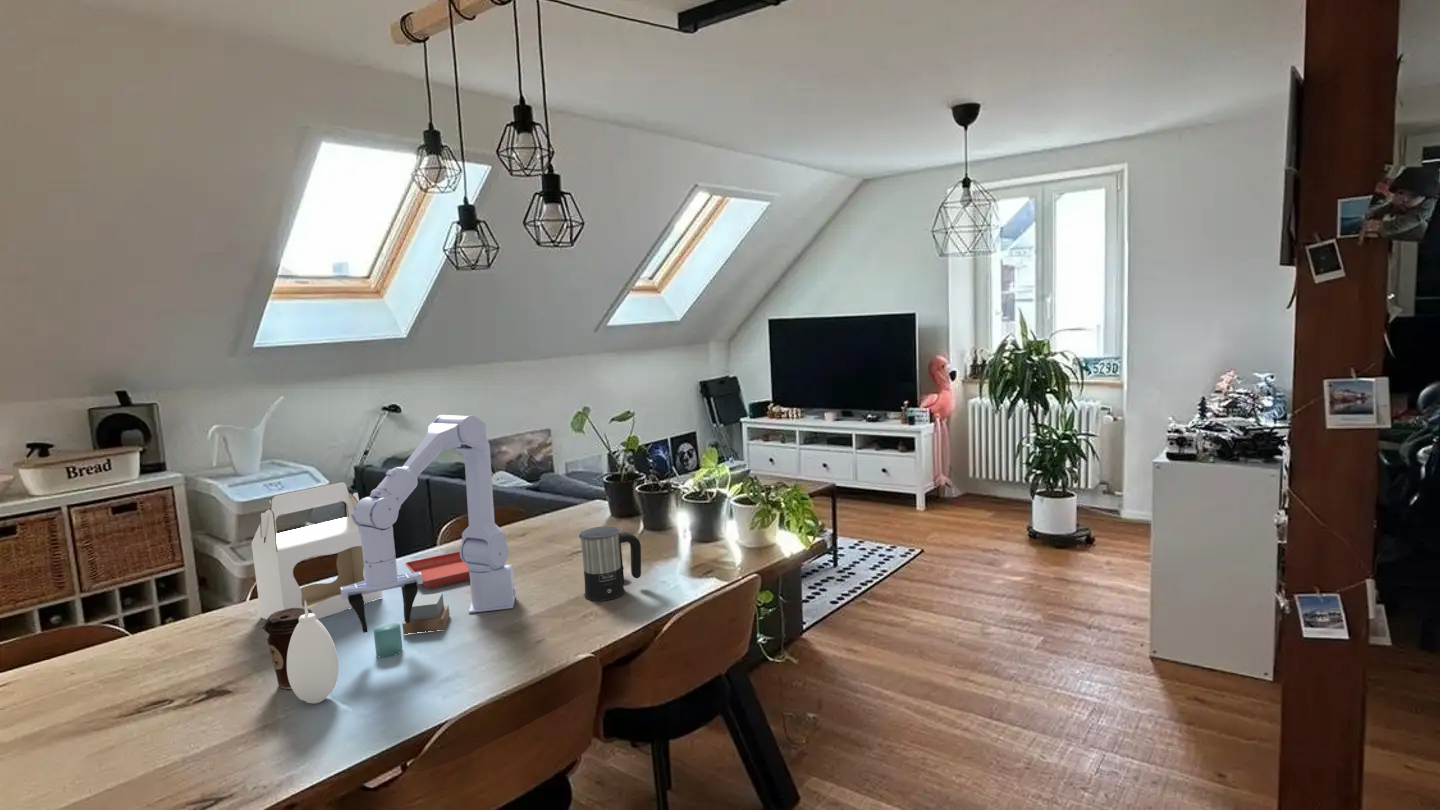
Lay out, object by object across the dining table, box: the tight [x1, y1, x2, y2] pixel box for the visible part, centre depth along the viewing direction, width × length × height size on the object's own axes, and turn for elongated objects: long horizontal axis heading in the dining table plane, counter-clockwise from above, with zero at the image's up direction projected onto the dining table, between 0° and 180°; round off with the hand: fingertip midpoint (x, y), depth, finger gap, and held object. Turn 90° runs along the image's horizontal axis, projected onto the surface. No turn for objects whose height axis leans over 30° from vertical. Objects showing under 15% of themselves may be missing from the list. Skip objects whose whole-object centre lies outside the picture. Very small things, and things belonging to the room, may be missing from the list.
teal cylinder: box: [373, 622, 403, 658], centre depth 155 cm, size 5×5×5 cm
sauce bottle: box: [287, 601, 339, 705], centre depth 136 cm, size 8×8×18 cm
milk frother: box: [578, 526, 642, 602], centre depth 185 cm, size 14×16×15 cm
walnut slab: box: [402, 604, 450, 635], centre depth 168 cm, size 8×8×3 cm
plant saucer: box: [404, 551, 470, 589], centre depth 201 cm, size 18×18×3 cm
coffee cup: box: [262, 608, 317, 690], centre depth 144 cm, size 9×8×13 cm
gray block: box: [410, 592, 445, 621], centre depth 168 cm, size 6×6×3 cm
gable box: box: [251, 481, 383, 621], centre depth 181 cm, size 22×13×28 cm, turn 141°
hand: (386, 626), depth 155 cm, fingers open, 7 cm apart
